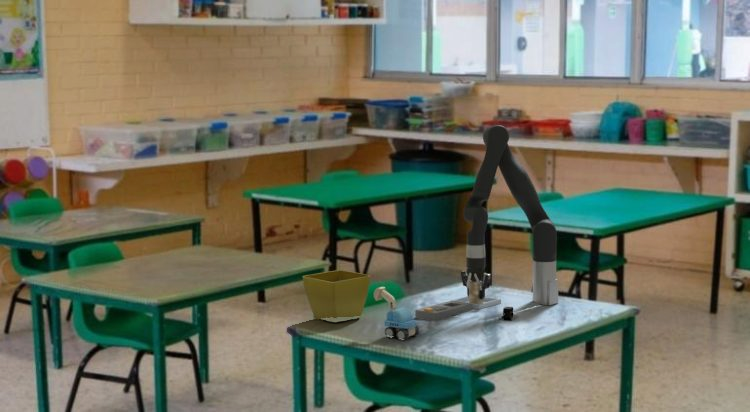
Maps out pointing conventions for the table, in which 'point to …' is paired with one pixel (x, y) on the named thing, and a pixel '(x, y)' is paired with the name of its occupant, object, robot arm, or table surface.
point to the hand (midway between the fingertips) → (476, 297)
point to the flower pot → (336, 293)
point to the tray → (486, 303)
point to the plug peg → (474, 293)
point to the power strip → (442, 310)
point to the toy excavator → (397, 317)
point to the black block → (508, 314)
